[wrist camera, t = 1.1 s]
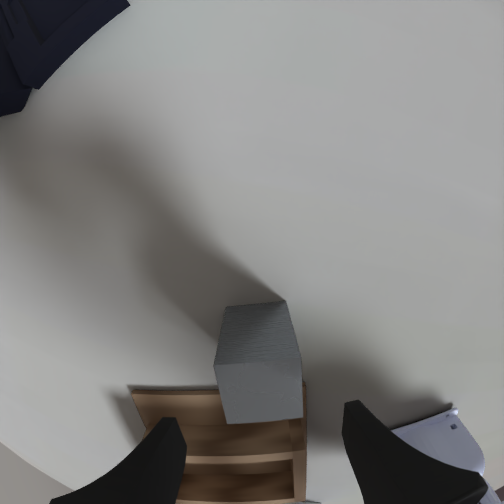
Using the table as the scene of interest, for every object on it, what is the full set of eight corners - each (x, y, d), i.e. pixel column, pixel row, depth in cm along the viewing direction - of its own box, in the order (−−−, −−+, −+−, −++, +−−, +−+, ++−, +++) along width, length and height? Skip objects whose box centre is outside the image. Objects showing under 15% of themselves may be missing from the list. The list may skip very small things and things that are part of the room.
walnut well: (304, 381, 21) (313, 418, 17) (305, 484, 24) (309, 513, 20) (133, 389, 21) (116, 421, 17) (181, 488, 25) (175, 515, 21)
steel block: (285, 300, 20) (300, 357, 13) (289, 351, 20) (303, 417, 14) (226, 306, 20) (213, 365, 13) (234, 356, 21) (227, 424, 14)
